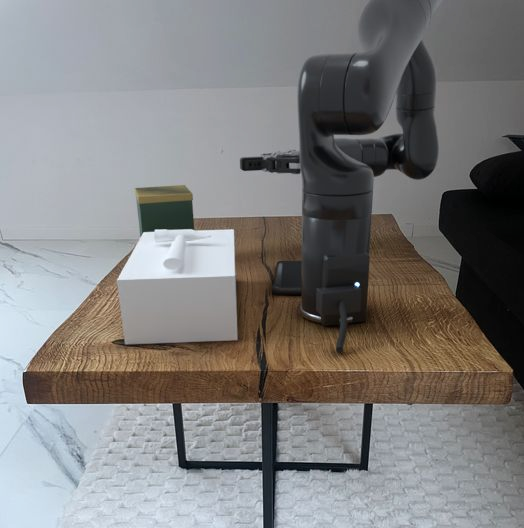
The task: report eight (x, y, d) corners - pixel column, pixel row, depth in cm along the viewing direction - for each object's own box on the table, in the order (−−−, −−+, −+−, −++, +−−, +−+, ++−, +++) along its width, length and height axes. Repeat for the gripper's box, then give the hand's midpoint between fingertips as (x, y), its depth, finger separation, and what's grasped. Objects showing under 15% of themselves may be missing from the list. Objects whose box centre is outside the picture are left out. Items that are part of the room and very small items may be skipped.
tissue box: (235, 280, 100) (233, 214, 96) (237, 340, 78) (234, 257, 73) (148, 283, 100) (142, 217, 95) (124, 344, 77) (114, 261, 73)
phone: (272, 287, 93) (277, 260, 106) (272, 294, 93) (277, 266, 107) (323, 288, 92) (322, 260, 106) (323, 295, 93) (322, 266, 106)
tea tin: (197, 266, 109) (192, 193, 103) (145, 271, 106) (138, 196, 101) (190, 253, 117) (185, 184, 111) (141, 257, 115) (134, 188, 109)
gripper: (320, 136, 116) (232, 139, 112) (346, 141, 104) (249, 145, 100) (319, 176, 119) (233, 180, 115) (344, 185, 107) (250, 191, 103)
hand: (241, 164), depth 108 cm, fingers closed
